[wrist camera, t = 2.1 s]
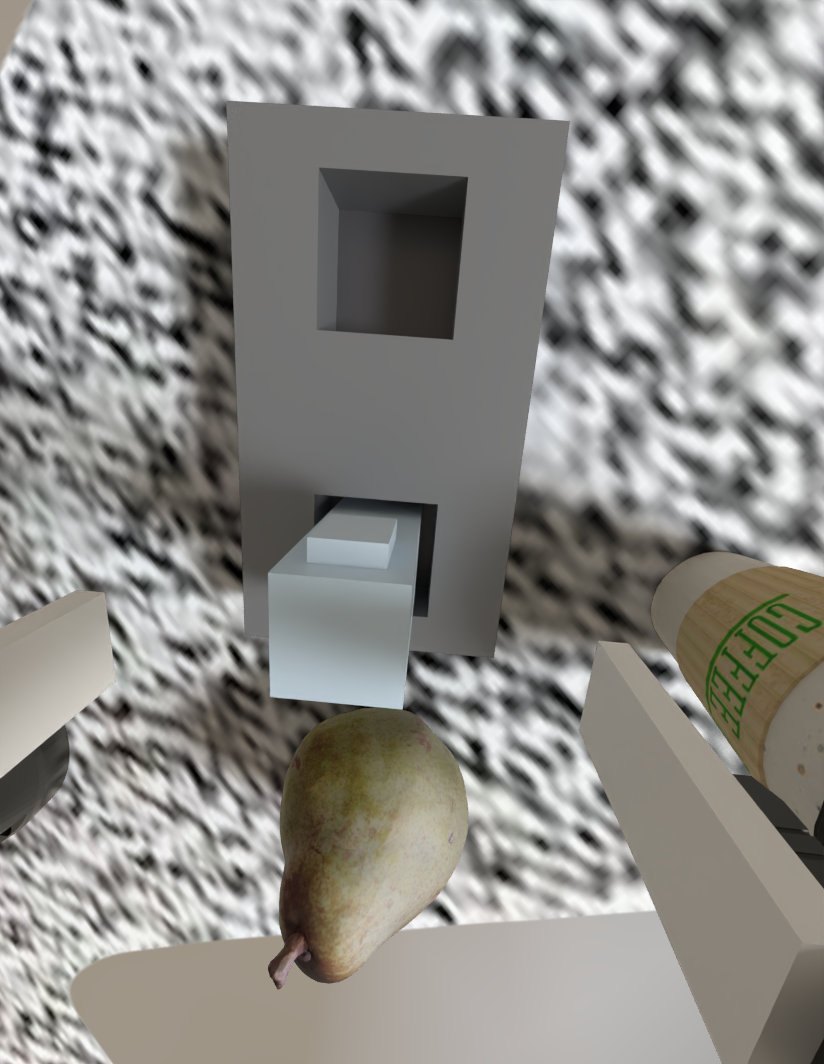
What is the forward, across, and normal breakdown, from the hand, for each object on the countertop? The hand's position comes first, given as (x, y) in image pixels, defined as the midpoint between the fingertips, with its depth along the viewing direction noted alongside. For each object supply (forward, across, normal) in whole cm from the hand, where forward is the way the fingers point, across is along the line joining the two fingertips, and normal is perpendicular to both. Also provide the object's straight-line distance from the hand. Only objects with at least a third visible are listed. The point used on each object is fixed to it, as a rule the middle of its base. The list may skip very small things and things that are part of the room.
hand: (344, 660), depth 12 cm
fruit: (+13, 0, -14) cm, 18 cm away
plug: (+12, 0, 0) cm, 12 cm away
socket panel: (+12, 0, +6) cm, 14 cm away
